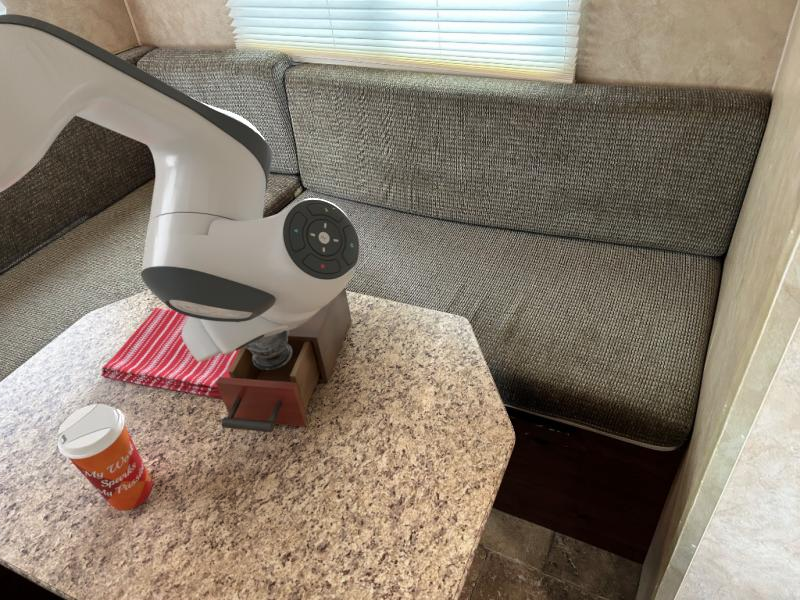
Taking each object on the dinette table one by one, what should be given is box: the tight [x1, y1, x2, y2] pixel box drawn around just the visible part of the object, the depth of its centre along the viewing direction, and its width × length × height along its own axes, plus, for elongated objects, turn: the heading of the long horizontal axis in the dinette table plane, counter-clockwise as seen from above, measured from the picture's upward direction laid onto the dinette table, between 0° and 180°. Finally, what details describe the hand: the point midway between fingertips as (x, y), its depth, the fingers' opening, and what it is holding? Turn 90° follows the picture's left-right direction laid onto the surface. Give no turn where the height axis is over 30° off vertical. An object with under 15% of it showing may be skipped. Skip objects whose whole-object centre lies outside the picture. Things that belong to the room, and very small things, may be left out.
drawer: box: [216, 340, 321, 433], centre depth 87 cm, size 18×11×8 cm, turn 169°
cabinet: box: [288, 287, 352, 384], centre depth 97 cm, size 15×13×10 cm
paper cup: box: [57, 403, 153, 511], centre depth 77 cm, size 8×8×14 cm
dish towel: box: [100, 307, 240, 400], centre depth 100 cm, size 17×24×3 cm
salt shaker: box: [245, 330, 292, 370], centre depth 76 cm, size 6×6×12 cm
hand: (257, 316), depth 76 cm, fingers closed on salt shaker, 3 cm apart
